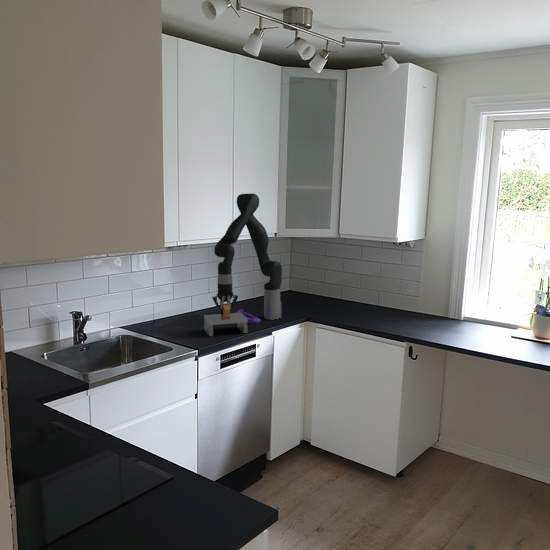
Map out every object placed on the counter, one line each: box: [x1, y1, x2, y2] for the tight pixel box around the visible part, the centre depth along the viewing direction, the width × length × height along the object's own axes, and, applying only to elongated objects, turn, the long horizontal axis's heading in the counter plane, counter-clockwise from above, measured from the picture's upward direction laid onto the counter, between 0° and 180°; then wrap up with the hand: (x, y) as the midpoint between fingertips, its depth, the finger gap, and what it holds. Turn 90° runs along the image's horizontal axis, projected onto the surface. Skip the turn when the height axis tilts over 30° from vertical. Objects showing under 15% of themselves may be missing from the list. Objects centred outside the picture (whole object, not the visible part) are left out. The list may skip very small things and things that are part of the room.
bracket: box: [236, 308, 261, 325], centre depth 310 cm, size 12×7×7 cm, turn 77°
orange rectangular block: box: [222, 303, 230, 318], centre depth 288 cm, size 3×4×10 cm, turn 18°
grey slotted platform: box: [203, 312, 249, 337], centre depth 289 cm, size 20×14×8 cm
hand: (225, 314), depth 288 cm, fingers closed on orange rectangular block, 3 cm apart
